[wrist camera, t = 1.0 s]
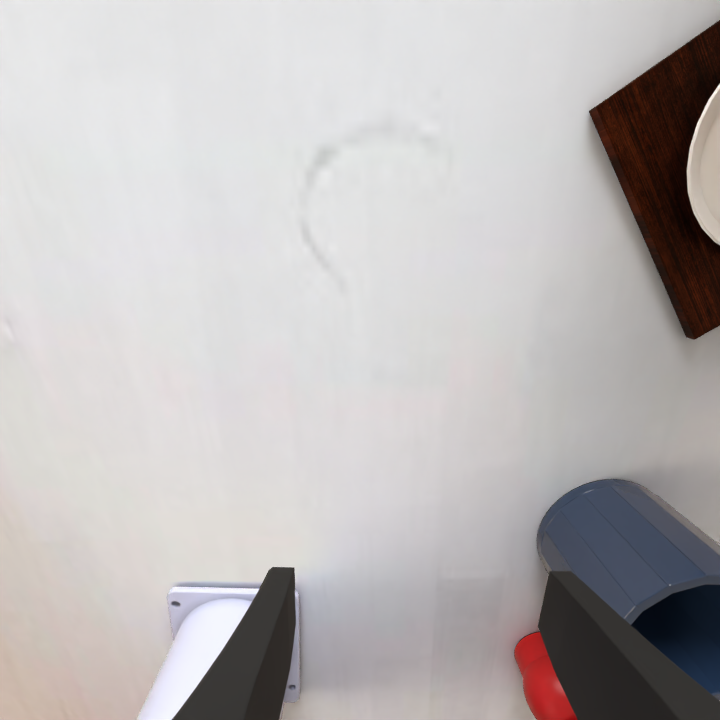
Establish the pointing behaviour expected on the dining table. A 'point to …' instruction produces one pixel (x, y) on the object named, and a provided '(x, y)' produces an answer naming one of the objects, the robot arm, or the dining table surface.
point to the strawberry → (541, 681)
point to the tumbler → (642, 568)
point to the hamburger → (674, 171)
